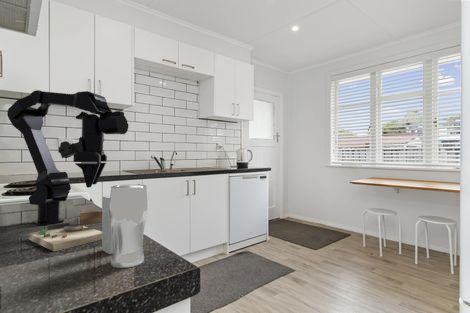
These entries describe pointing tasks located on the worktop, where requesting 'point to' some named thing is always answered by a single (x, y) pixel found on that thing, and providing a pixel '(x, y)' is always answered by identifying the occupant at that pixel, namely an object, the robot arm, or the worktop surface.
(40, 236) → the dial board
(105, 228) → the skincare box
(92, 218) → the gauge needle
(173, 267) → the worktop surface
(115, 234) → the beer glass
